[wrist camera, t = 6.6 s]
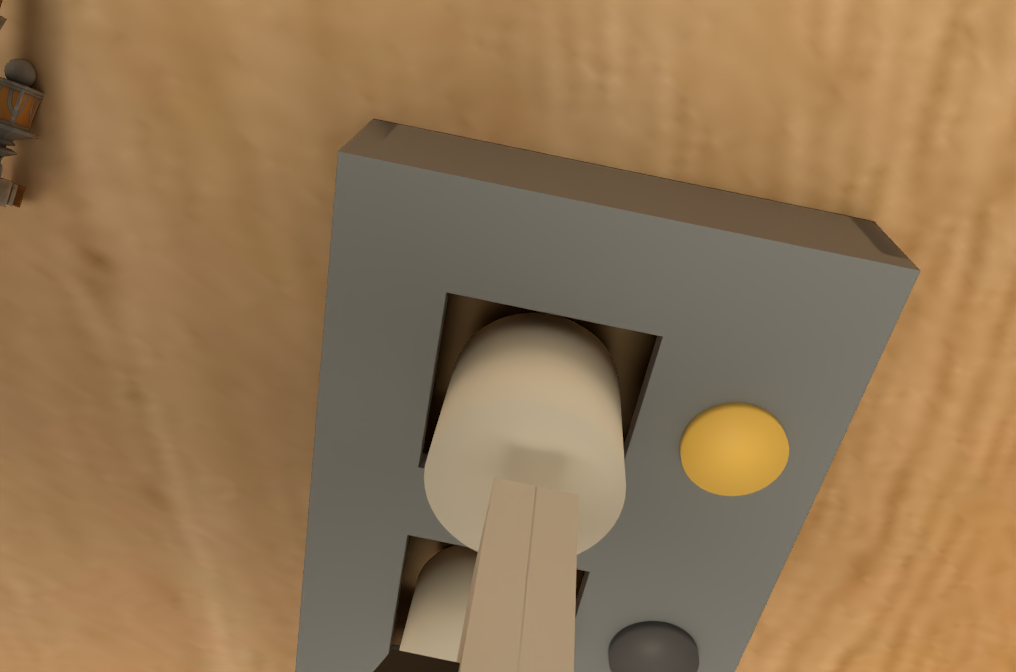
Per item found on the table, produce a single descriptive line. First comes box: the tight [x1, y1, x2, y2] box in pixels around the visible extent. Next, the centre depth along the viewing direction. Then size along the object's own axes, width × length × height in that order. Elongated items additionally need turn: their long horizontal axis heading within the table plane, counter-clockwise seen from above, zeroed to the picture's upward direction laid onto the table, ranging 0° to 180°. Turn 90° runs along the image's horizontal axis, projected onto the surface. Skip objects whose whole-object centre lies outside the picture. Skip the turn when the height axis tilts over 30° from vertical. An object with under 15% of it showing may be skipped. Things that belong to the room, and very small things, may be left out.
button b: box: [399, 545, 478, 662], centre depth 21 cm, size 4×4×4 cm
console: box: [295, 119, 920, 672], centre depth 23 cm, size 12×24×3 cm, turn 170°
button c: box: [424, 313, 626, 554], centre depth 18 cm, size 4×4×4 cm
